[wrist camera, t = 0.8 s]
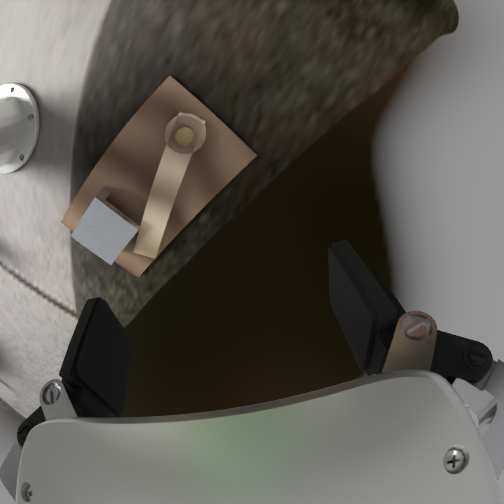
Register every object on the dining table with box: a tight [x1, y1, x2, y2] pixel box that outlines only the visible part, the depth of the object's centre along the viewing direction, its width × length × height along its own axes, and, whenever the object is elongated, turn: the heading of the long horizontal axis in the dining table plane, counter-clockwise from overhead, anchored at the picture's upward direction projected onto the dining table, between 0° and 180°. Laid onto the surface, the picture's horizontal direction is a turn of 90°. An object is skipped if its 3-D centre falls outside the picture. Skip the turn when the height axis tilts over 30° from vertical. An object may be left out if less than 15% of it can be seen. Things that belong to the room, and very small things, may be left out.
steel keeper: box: [71, 186, 140, 265], centre depth 32 cm, size 6×6×4 cm
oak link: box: [134, 111, 206, 259], centre depth 31 cm, size 18×4×3 cm, turn 155°
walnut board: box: [61, 76, 257, 277], centre depth 32 cm, size 24×14×1 cm, turn 133°
